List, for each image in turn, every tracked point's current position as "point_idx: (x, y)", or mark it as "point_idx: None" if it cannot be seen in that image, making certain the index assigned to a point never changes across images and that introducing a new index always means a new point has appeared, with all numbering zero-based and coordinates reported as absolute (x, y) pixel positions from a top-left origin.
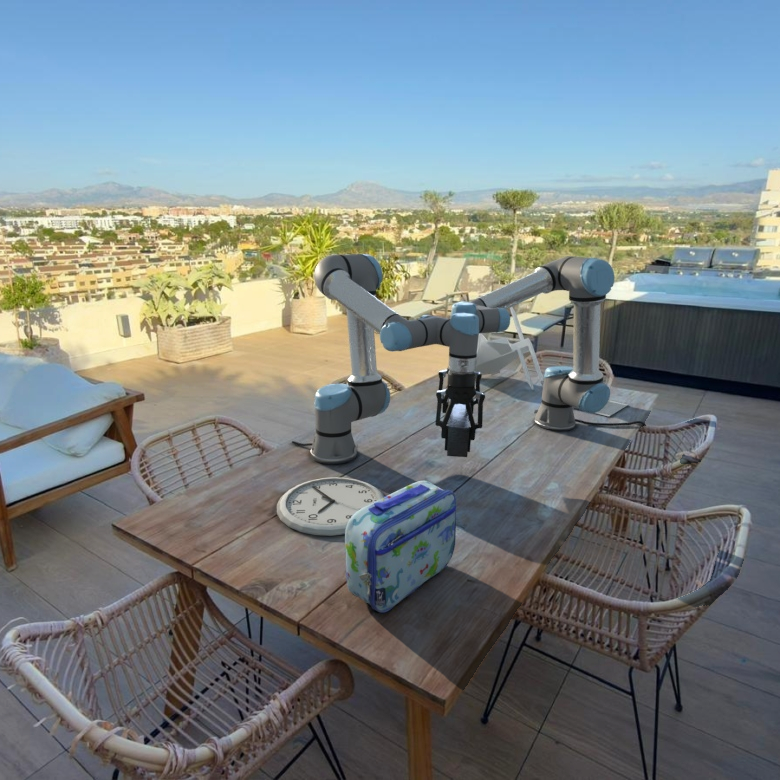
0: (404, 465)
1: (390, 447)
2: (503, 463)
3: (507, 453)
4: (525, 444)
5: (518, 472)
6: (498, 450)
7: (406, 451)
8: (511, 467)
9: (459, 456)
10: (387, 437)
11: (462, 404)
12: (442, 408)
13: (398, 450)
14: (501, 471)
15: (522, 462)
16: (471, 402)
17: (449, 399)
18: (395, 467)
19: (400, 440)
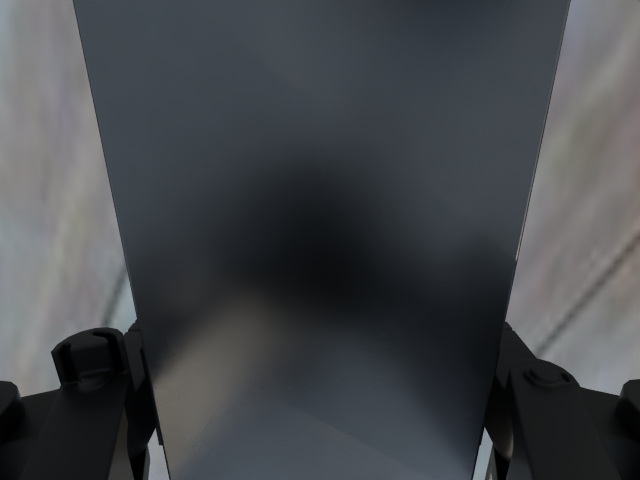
0: (576, 76)
1: (614, 270)
2: (91, 178)
3: (87, 285)
4: (27, 378)
5: (5, 84)
6: (130, 308)
7: (544, 240)
8: (47, 138)
9: None
10: (610, 365)
11: (229, 192)
12: (513, 331)
13: (581, 245)
14: (88, 82)
15: (7, 202)
16: (94, 394)
17: (472, 450)
18: (628, 42)
19: (557, 345)
